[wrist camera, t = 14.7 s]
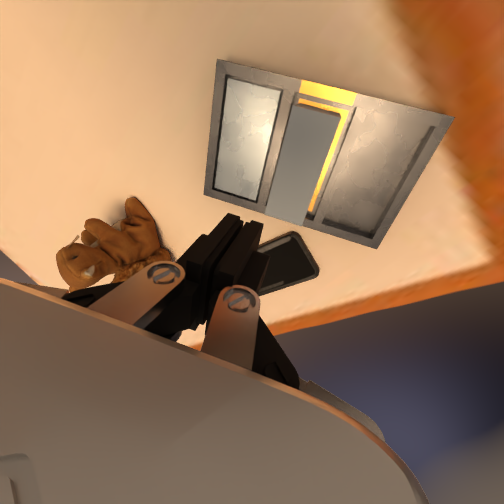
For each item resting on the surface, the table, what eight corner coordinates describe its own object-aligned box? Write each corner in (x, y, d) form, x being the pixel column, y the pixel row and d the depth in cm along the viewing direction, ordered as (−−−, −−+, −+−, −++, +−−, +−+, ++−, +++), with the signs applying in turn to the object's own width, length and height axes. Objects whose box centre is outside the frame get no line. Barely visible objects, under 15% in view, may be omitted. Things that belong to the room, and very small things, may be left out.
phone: (212, 267, 40) (295, 231, 33) (215, 263, 41) (296, 227, 34) (239, 303, 43) (322, 276, 36) (241, 298, 44) (322, 272, 37)
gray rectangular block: (301, 103, 25) (292, 105, 20) (340, 113, 25) (341, 117, 20) (275, 195, 31) (264, 214, 26) (307, 205, 31) (301, 226, 26)
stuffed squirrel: (132, 190, 38) (51, 228, 27) (193, 261, 42) (143, 318, 31) (100, 221, 43) (22, 263, 32) (158, 281, 47) (105, 337, 36)
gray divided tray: (226, 61, 26) (215, 58, 24) (444, 115, 24) (456, 117, 21) (211, 188, 34) (202, 195, 32) (374, 239, 32) (377, 250, 29)
